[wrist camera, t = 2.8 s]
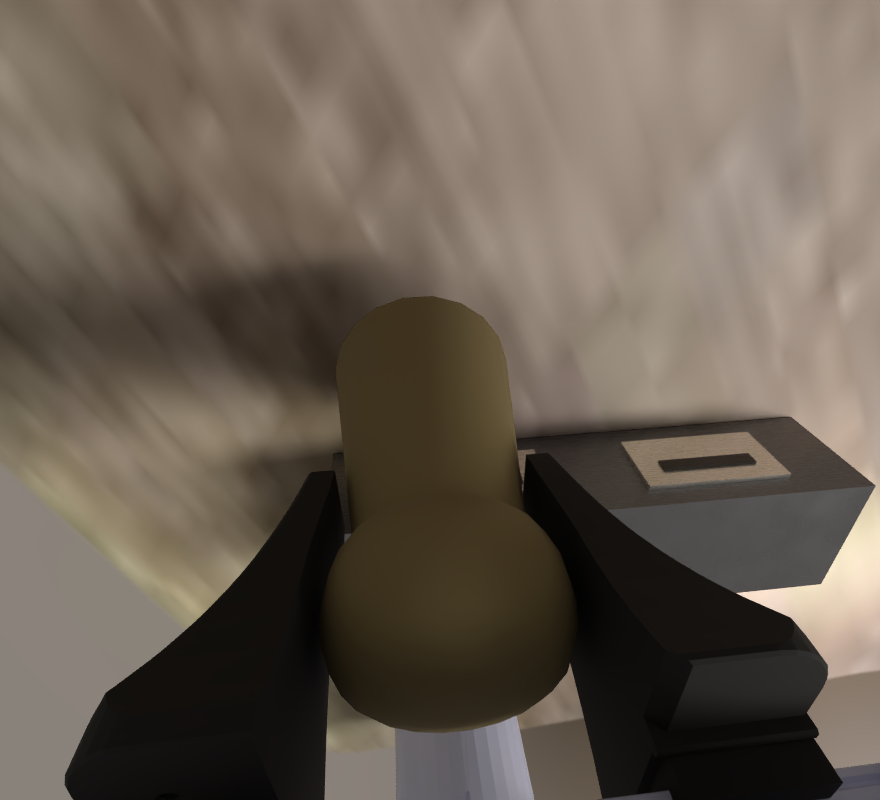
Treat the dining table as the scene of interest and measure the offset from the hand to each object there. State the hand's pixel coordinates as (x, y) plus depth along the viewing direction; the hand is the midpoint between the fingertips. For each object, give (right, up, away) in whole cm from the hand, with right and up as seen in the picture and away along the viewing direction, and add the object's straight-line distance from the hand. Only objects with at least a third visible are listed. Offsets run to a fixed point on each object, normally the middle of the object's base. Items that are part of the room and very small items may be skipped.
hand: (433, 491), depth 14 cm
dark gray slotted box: (+6, -2, +12) cm, 14 cm away
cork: (0, +3, +5) cm, 6 cm away
